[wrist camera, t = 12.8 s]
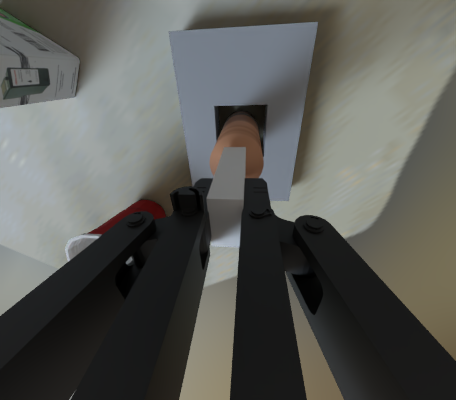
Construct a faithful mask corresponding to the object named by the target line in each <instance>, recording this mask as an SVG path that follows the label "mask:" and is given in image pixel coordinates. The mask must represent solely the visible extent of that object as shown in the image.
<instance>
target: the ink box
mask: <svg viewBox="0 0 456 400" xmlns="http://www.w3.org/2000/svg"><path fill="white" fill-rule="evenodd" d="M79 64H80V61H79V58H78V57H77V56H75V55H73V54H72V53H70V52H69V51H67V50H66V49H64V48H62V47H61V46H59V45H58V44H56V43H54V42H53V41H51V40H50V39H48V38H47V37H45V36H43V35H42V34H40V33H38V32H37V31H35V30H34V29H32V28H31V27H29V26H27V25H26V24H24V23H23V22H21V21H20V20H18V19H16V18H15V17H13V16H11V15H10V14H8V13H7V12H5V11H4V10H2V9H0V108H3V107H10V106H17V105H25V104H32V103H39V102H46V101H53V100H60V99H67V98H74V97H75V92H76V87H77V79H78V71H79Z"/></svg>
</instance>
